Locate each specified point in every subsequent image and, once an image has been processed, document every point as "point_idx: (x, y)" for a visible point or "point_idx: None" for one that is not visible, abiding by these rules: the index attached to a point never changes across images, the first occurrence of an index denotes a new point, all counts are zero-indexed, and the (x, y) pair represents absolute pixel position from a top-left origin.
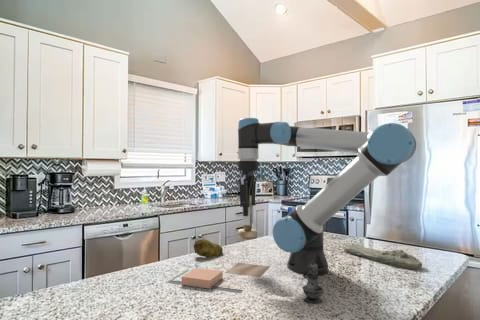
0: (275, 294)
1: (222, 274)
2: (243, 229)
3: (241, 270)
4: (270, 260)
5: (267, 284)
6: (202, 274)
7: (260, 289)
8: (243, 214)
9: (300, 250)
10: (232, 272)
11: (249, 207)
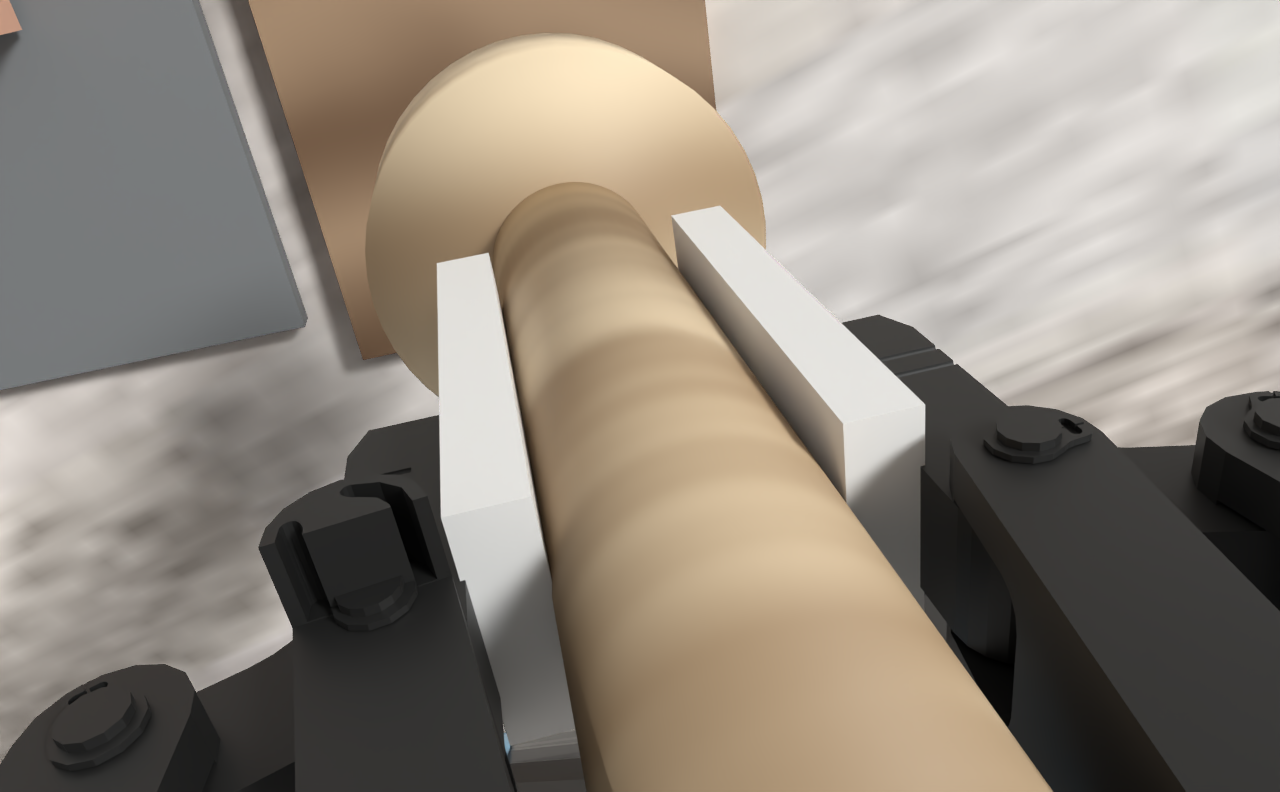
0: (140, 602)
1: (2, 34)
2: (633, 125)
3: (429, 78)
4: (1014, 133)
5: (302, 454)
6: None
7: (147, 466)
8: (348, 470)
9: None
10: (295, 18)
11: (509, 736)
